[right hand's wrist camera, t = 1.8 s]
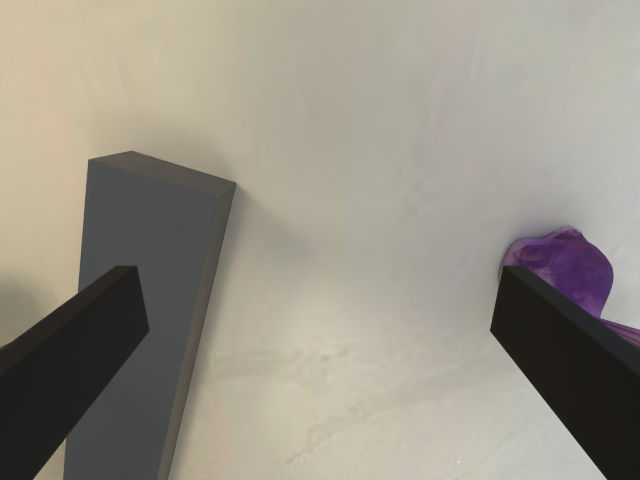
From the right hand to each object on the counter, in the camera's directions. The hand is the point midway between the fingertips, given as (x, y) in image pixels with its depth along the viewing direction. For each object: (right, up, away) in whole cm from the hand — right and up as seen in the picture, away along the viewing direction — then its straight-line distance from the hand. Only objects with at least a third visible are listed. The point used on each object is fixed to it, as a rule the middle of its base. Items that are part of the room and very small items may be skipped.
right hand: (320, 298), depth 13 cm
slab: (-22, -18, +31) cm, 42 cm away
